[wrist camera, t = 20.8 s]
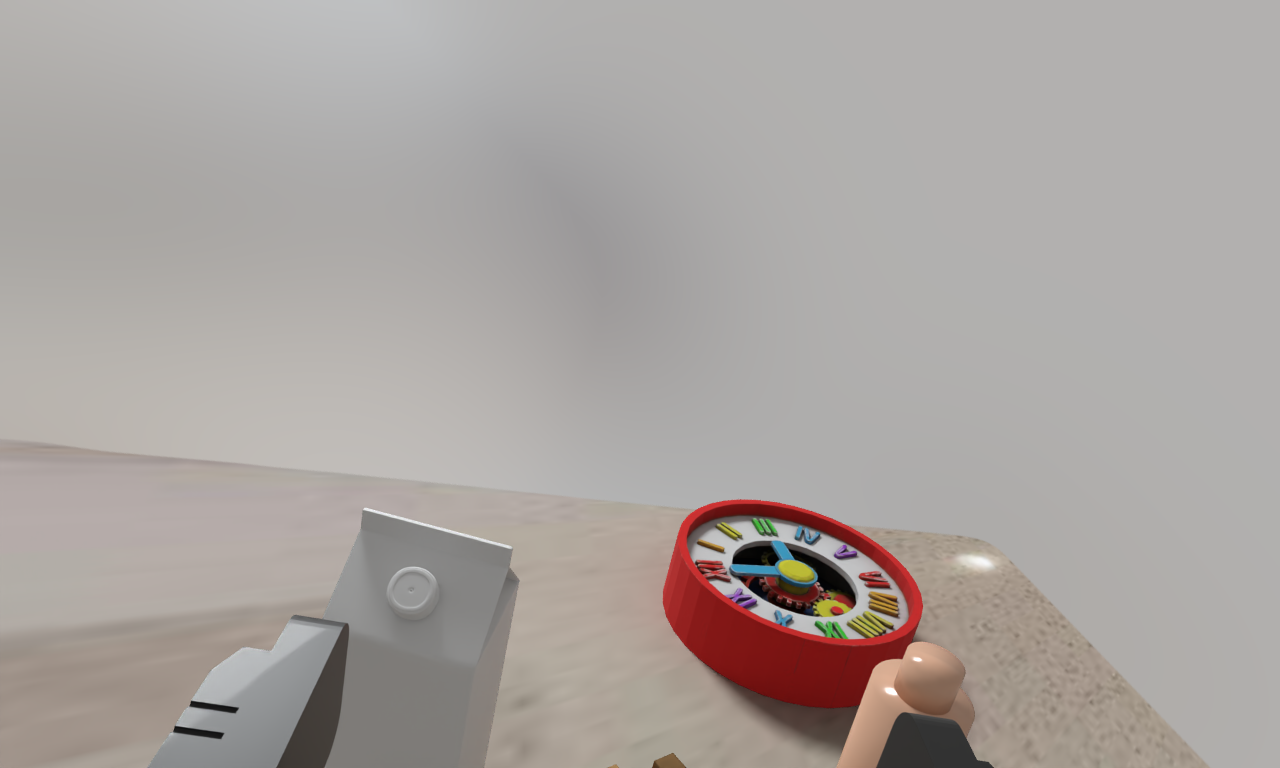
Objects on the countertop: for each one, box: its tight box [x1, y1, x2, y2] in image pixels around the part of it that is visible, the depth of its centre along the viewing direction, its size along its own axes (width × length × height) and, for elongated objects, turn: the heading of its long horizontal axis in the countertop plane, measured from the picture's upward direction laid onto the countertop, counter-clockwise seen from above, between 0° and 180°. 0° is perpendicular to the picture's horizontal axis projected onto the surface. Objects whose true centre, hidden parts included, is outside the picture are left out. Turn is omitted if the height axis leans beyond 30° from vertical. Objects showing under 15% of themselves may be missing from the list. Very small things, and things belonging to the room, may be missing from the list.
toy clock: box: [663, 499, 923, 708], centre depth 71 cm, size 20×6×20 cm
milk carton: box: [322, 508, 520, 768], centre depth 43 cm, size 7×7×19 cm
